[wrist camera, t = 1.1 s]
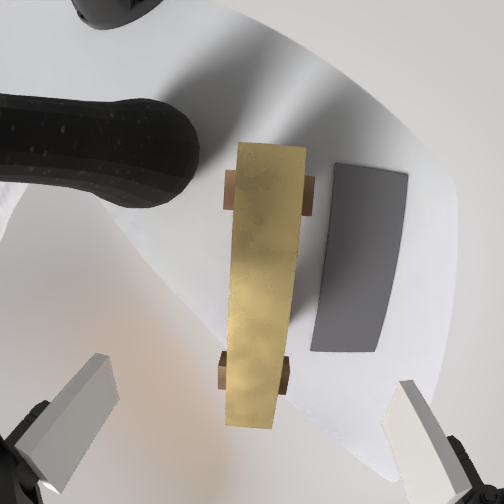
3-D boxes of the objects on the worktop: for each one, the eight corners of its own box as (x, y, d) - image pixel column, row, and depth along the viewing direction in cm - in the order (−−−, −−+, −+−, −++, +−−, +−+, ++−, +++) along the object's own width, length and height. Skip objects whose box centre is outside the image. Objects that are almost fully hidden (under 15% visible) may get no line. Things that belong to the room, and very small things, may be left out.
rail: (245, 151, 21) (238, 142, 16) (297, 155, 21) (306, 147, 16) (232, 386, 27) (225, 425, 21) (272, 389, 26) (271, 429, 21)
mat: (335, 163, 29) (335, 163, 29) (406, 175, 29) (407, 175, 29) (310, 349, 35) (310, 351, 35) (373, 350, 35) (374, 351, 34)
